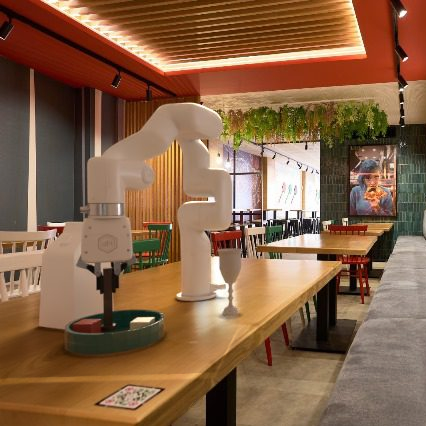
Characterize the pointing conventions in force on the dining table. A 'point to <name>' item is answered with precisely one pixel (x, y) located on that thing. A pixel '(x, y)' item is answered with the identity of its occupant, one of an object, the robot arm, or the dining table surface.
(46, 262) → the milk
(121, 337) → the bowl
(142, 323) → the cream block
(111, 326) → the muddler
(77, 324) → the red block
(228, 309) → the chalice
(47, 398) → the dining table surface
